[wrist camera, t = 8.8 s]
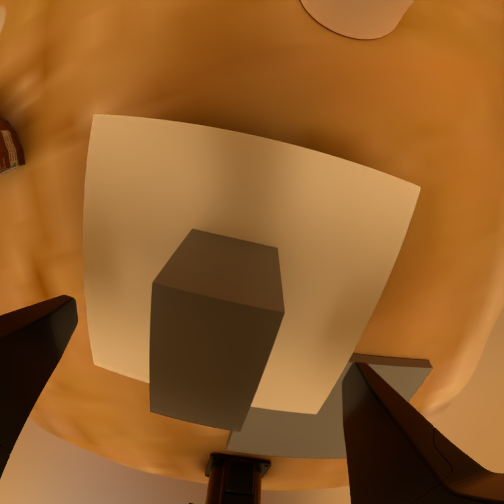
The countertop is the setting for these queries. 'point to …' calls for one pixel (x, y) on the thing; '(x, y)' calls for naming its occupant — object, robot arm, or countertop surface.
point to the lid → (231, 264)
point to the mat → (320, 416)
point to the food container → (9, 148)
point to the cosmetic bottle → (358, 16)
